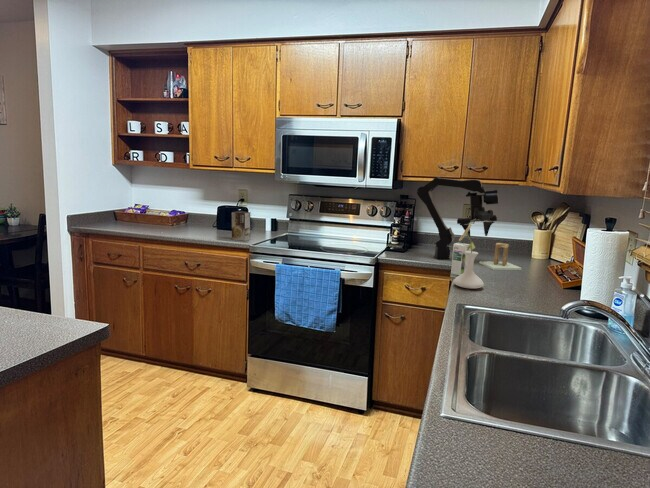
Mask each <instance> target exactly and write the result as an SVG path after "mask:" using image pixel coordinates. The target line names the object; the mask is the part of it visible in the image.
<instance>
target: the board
mask: <svg viewBox="0 0 650 488" xmlns="http://www.w3.org/2000/svg"><path fill="white" fill-rule="evenodd" d="M478 264H480V265H481V266H484V267H486V268H488V269H491V270H493V271H522V269H523V268H522V267H520V266H518V265H515V264H513V263H511V262H508V261H507V265H505V266H502V261H499V262H498V264H497V265H494V261H488V260H487V261H485V260H484V261H479V263H478Z"/></svg>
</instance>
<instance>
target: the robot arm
mask: <svg viewBox="0 0 650 488" xmlns="http://www.w3.org/2000/svg"><path fill="white" fill-rule="evenodd" d="M438 186H442V187H451V188H452V187H453V188H461V189H465V190H467V191H468V192H467V194H466V195H465V197H468V198H469V207H468V211H469V210H470V215H469V216H468V217H466V216H465V217H458V218H457V221H456V223H457V224H458V225H459V226H461V227H462V228H463V230H464V231H465V230H466V229H467V228H468V226H469V225H470V224H471V223H473V222H482V224H483V231H484V233H483V234H484V236H485V237H487V236H488V234H489V232H490V228H491V227H492V225H493V224H494V223H495V222H497V221H498V217H497V215H496V214H494V211H493V210H492V209H489V210H486V209H485V207H484V206H483V203H484V204H485V205H486V206H488V205H499V204H500V201H499V200H500V197H499V190H498V189H493V190H486V189H485V188H484V187H483V183H482V181H481V180H480V179H464V180H462V179H452V178H444V177H443V178H442V177H437V176H436V177H434V178H433V179H432V180H430V181H429V182H428V183H426V184H425V185H423V186H420V187H418V189H417V191H416V194H417V197H418V198H419V199H420V200H421V201H422V202H423V204H424V205H425V206H426V209H427V211H428V212H429V215H430V216H431V219H432V220H433V223H434V224H435V226H436V228H437V230H438V231H437V232H438V236H439V240H438V241H436V242H435V248H434V249H435V251H434V255H433V258H434V259H436V260H450V259H451V258H450V256H451V250H450V246H449V245H450V244H452V242H454V240H455V236H454V235H455V233H454V232H453V229H452V227H447V225H446V224H445V222H444V220H443V218H442V216H441V214H440V211H439V210H438V208H437V206H436V204H435V201H434V199H433V193H432V192H433V191H434V190H435V189H436V188H437V187H438ZM471 191H472V192H471ZM478 193H479V194H478ZM468 235H469V237H470V238H471V228H470V229H469V231H468ZM468 235H467V236H466V237H468ZM469 237H468V239H469Z"/></svg>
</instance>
